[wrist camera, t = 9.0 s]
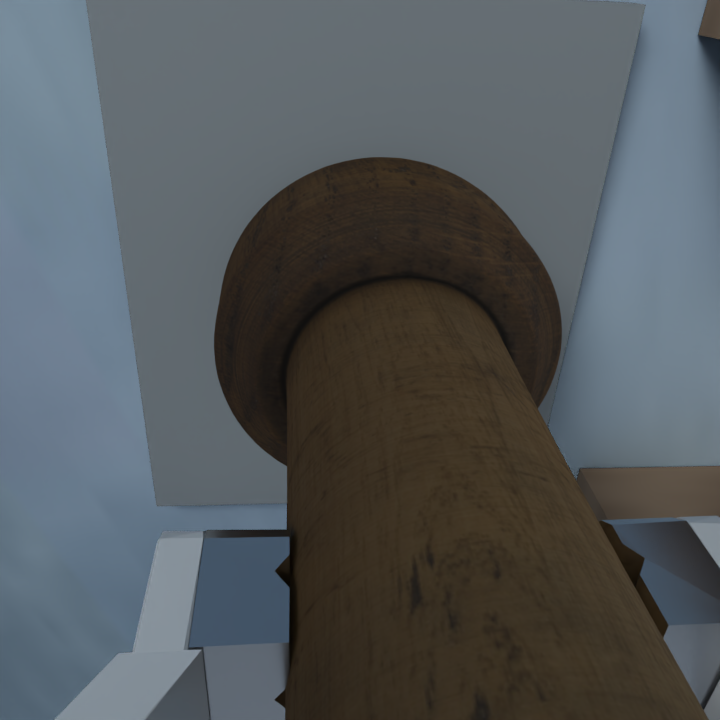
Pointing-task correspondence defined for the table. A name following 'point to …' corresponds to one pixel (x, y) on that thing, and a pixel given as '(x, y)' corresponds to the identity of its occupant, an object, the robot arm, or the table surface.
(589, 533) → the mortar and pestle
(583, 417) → the table surface
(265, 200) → the grey rubber mat
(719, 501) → the walnut bay
